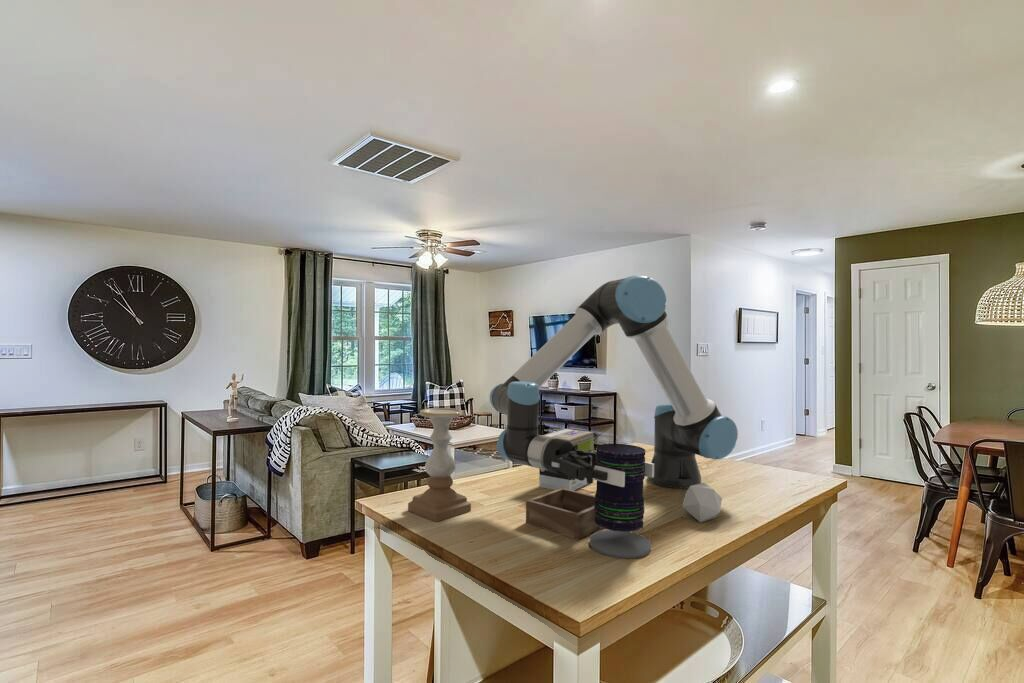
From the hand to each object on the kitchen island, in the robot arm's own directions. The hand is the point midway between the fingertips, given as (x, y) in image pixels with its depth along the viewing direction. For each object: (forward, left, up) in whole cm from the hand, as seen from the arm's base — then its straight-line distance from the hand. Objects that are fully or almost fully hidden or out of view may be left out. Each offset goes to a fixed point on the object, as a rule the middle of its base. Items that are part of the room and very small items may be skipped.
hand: (638, 475), depth 100 cm
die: (-29, +2, -15) cm, 33 cm away
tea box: (-30, -37, -15) cm, 50 cm away
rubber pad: (-1, -4, -15) cm, 16 cm away
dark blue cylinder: (0, -4, -11) cm, 12 cm away
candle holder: (+10, -46, -15) cm, 50 cm away
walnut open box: (-5, -19, -15) cm, 25 cm away
